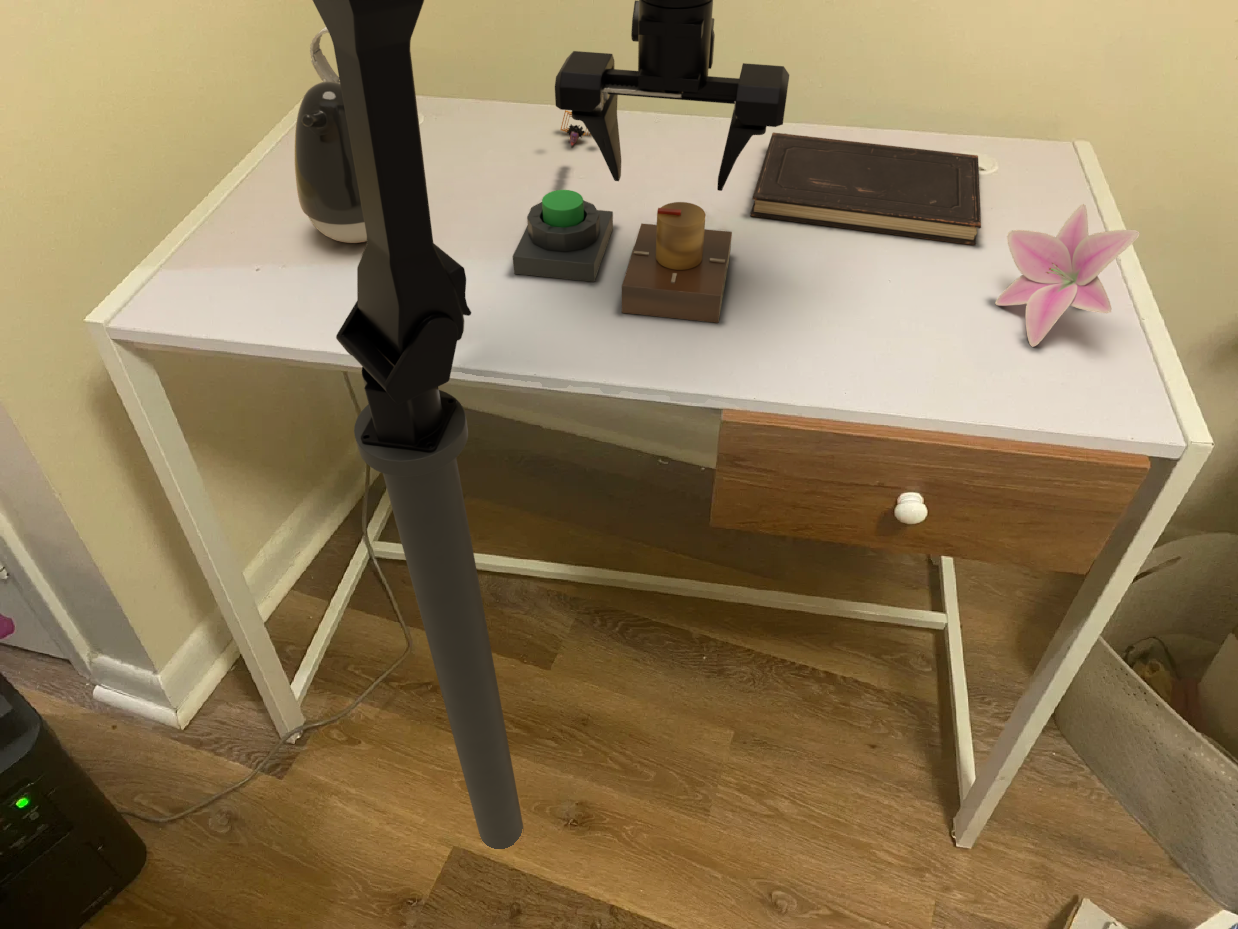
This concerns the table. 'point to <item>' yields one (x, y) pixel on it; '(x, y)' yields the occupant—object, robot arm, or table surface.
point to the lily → (1061, 271)
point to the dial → (680, 235)
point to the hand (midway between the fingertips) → (668, 183)
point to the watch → (321, 60)
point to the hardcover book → (870, 188)
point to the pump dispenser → (327, 165)
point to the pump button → (563, 208)
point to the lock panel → (676, 280)
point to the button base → (564, 246)
